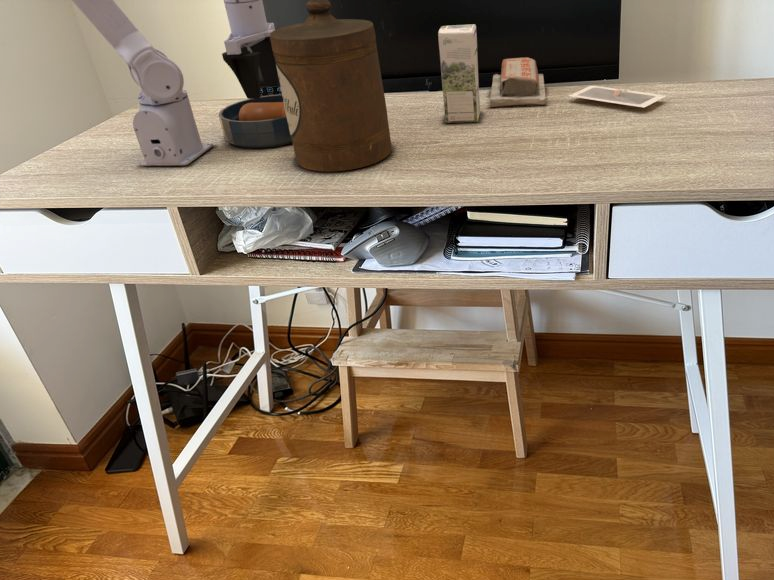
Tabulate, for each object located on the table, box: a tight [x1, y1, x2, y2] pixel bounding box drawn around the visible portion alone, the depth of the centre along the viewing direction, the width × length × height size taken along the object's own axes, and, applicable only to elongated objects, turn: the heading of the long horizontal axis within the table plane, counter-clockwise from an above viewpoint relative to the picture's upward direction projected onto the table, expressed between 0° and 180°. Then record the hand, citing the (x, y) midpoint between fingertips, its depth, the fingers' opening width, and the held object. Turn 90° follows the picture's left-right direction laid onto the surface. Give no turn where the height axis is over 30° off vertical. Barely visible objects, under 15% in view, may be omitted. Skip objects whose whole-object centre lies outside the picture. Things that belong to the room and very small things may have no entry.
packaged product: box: [489, 56, 547, 108], centre depth 126 cm, size 18×5×10 cm
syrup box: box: [437, 23, 481, 124], centre depth 112 cm, size 6×6×14 cm
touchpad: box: [568, 84, 667, 109], centre depth 118 cm, size 8×15×2 cm, turn 49°
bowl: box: [217, 93, 293, 149], centre depth 115 cm, size 16×16×4 cm
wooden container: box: [270, 0, 393, 173], centre depth 98 cm, size 15×15×22 cm
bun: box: [239, 102, 286, 121], centre depth 115 cm, size 11×5×5 cm, turn 81°
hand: (263, 91), depth 112 cm, fingers open, 7 cm apart
